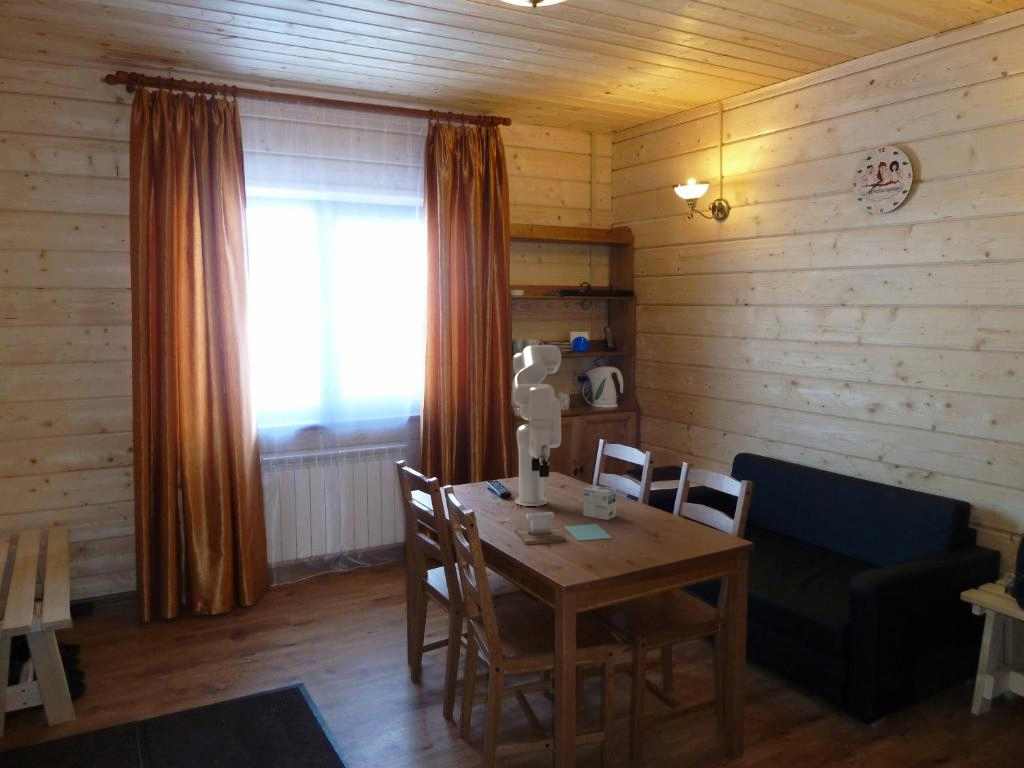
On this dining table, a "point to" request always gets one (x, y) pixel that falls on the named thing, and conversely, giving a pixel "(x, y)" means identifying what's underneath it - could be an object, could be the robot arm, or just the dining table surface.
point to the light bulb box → (599, 502)
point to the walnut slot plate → (553, 537)
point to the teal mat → (587, 532)
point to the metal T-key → (539, 523)
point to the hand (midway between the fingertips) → (540, 473)
